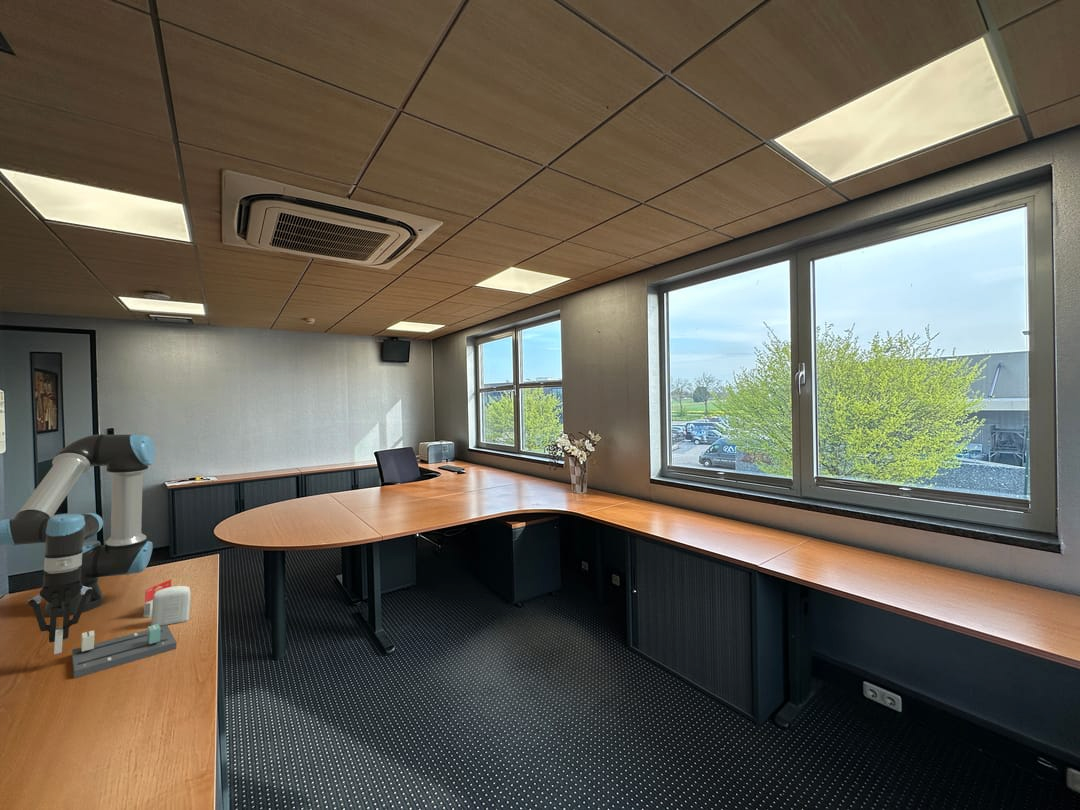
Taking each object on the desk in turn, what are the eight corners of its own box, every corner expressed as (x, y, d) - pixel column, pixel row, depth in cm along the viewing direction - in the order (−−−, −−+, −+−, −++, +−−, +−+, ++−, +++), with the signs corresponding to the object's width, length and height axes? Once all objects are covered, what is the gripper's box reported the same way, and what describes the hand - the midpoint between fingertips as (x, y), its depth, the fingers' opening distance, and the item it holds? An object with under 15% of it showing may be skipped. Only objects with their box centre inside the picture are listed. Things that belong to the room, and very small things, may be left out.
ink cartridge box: (175, 604, 168) (177, 579, 168) (149, 618, 157) (151, 590, 157) (169, 604, 168) (171, 578, 168) (142, 617, 157) (144, 590, 157)
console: (71, 656, 132) (72, 648, 132) (166, 630, 148) (167, 624, 148) (74, 678, 121) (74, 670, 121) (176, 648, 138) (176, 641, 138)
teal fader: (147, 641, 137) (147, 626, 137) (157, 638, 139) (158, 623, 139) (149, 645, 134) (150, 630, 135) (159, 642, 136) (160, 627, 136)
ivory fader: (80, 648, 132) (81, 632, 132) (92, 645, 134) (93, 629, 134) (81, 653, 129) (82, 637, 129) (93, 650, 131) (94, 634, 131)
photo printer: (189, 616, 159) (191, 582, 159) (188, 621, 155) (190, 586, 156) (152, 623, 153) (154, 587, 153) (150, 628, 150) (152, 592, 150)
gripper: (28, 578, 120) (22, 665, 120) (95, 567, 130) (90, 647, 129) (29, 571, 125) (23, 655, 125) (93, 561, 135) (89, 638, 134)
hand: (57, 651), depth 127 cm, fingers closed
